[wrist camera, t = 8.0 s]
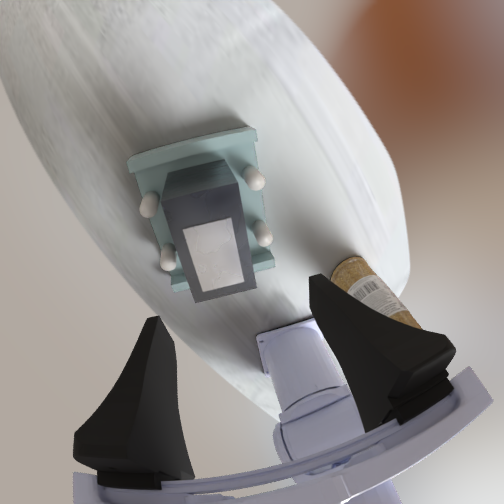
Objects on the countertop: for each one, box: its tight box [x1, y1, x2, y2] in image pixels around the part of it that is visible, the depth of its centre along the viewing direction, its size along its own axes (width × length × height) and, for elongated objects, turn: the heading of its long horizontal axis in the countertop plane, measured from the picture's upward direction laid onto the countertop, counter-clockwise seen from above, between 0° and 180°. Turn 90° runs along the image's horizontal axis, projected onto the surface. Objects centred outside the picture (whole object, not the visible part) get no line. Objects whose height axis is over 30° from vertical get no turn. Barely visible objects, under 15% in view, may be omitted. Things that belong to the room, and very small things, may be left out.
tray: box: [126, 126, 275, 293], centre depth 19 cm, size 11×8×3 cm
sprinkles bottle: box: [331, 257, 423, 330], centre depth 22 cm, size 5×5×14 cm
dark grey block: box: [161, 159, 257, 303], centre depth 17 cm, size 7×4×6 cm, turn 8°
